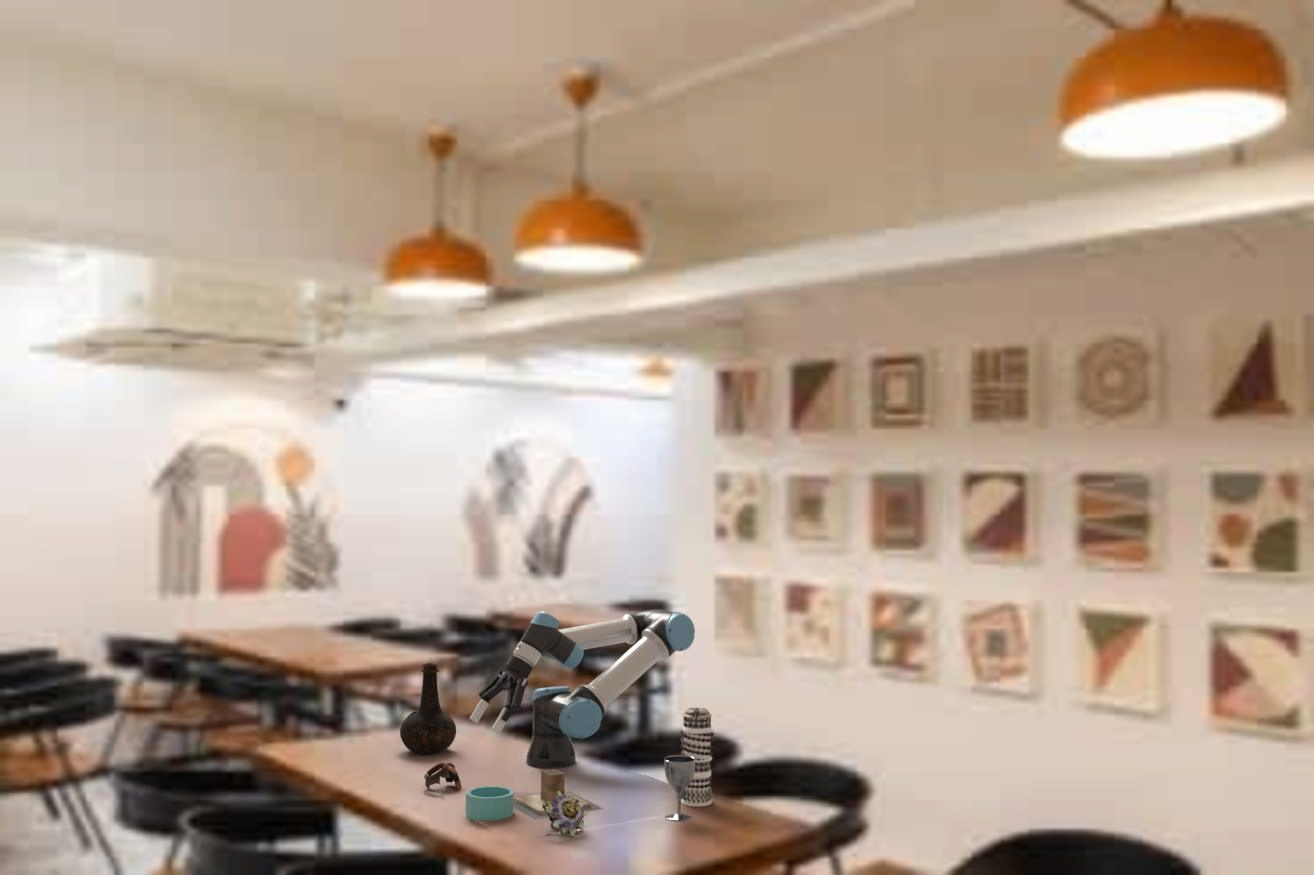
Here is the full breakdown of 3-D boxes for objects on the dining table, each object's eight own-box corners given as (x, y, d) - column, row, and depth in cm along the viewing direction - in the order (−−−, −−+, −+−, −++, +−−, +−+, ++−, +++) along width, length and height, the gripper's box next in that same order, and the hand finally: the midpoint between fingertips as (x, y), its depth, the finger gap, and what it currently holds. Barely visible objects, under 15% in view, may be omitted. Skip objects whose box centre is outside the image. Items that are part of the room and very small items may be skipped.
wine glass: (698, 815, 300) (698, 756, 300) (689, 823, 292) (689, 763, 293) (669, 811, 302) (670, 754, 303) (659, 819, 295) (660, 760, 296)
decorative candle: (689, 808, 306) (690, 713, 307) (673, 800, 314) (674, 707, 315) (719, 804, 310) (720, 711, 311) (702, 796, 318) (703, 705, 320)
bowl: (501, 807, 305) (502, 784, 305) (520, 818, 295) (521, 794, 295) (459, 813, 298) (459, 789, 299) (477, 824, 288) (477, 800, 289)
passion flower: (571, 858, 280) (557, 826, 274) (540, 841, 287) (526, 809, 281) (600, 825, 286) (588, 792, 280) (569, 809, 293) (556, 776, 287)
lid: (564, 794, 316) (565, 763, 317) (590, 807, 304) (591, 775, 304) (514, 801, 308) (515, 769, 309) (539, 815, 296) (539, 781, 296)
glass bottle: (429, 743, 381) (431, 658, 382) (467, 750, 370) (469, 663, 372) (387, 752, 366) (389, 664, 368) (426, 760, 356) (428, 669, 357)
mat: (568, 793, 320) (568, 791, 320) (603, 810, 303) (603, 808, 303) (502, 802, 309) (502, 800, 309) (534, 821, 292) (534, 819, 292)
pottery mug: (460, 795, 318) (445, 770, 317) (430, 808, 320) (416, 784, 318) (469, 774, 330) (456, 750, 329) (441, 786, 331) (427, 763, 330)
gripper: (493, 648, 345) (455, 711, 337) (535, 661, 325) (496, 728, 317) (510, 660, 348) (473, 723, 341) (553, 674, 328) (515, 741, 321)
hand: (484, 725), depth 329 cm, fingers open, 13 cm apart
